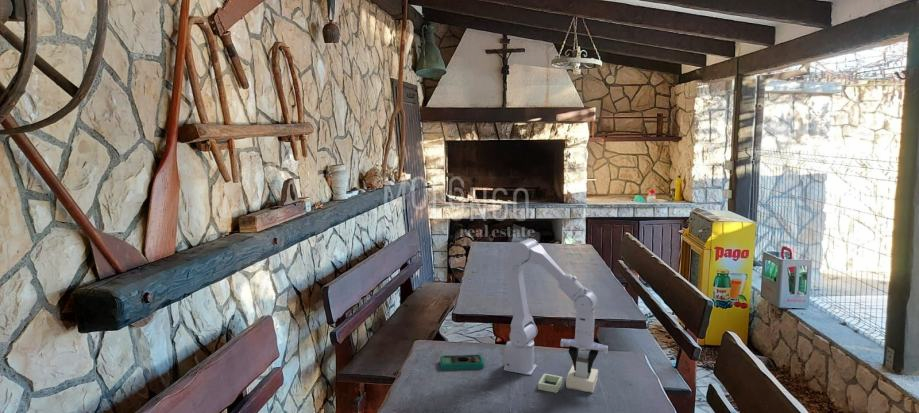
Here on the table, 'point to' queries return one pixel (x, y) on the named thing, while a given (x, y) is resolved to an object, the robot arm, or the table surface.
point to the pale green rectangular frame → (549, 387)
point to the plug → (582, 366)
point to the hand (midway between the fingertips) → (582, 370)
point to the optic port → (582, 381)
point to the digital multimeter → (461, 362)
